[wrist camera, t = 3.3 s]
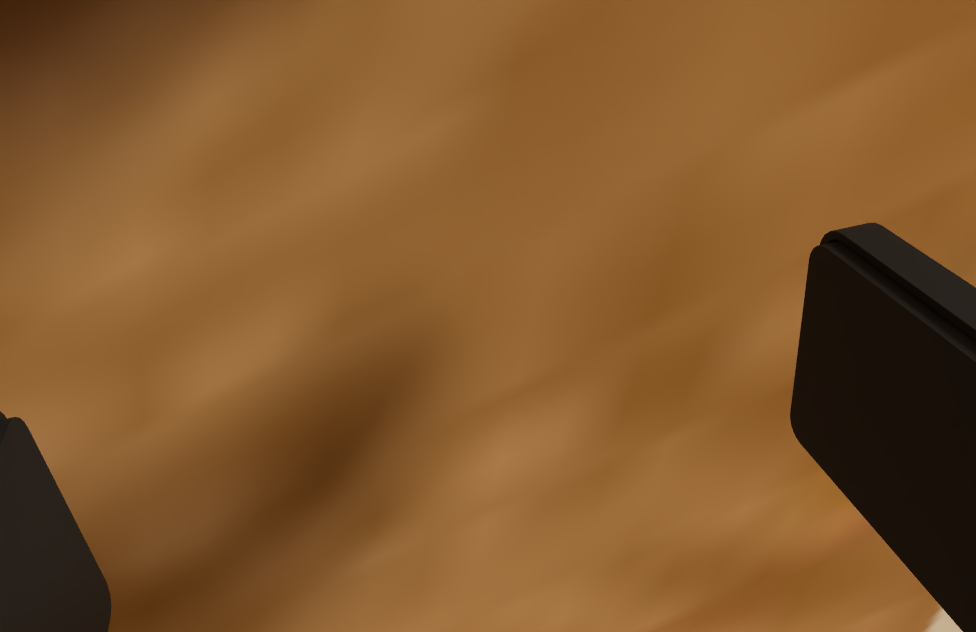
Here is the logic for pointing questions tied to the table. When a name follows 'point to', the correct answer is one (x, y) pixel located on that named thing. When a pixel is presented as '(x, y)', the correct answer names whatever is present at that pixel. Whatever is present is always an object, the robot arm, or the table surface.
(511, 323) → the table surface
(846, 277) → the robot arm
